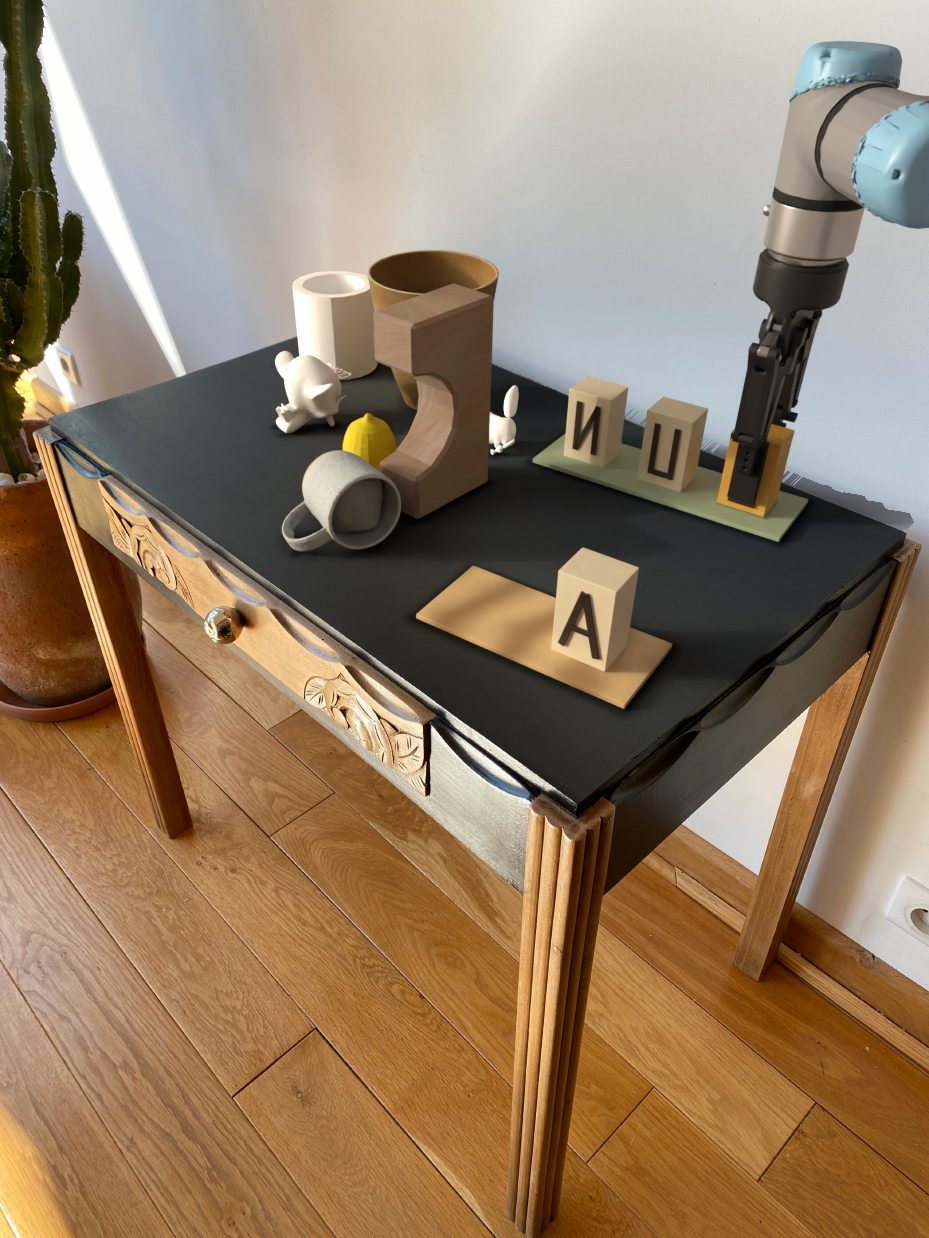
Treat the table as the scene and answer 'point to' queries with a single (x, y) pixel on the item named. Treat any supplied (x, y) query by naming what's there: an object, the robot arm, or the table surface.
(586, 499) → the table surface
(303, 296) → the mug
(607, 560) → the tile
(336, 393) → the figurine
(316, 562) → the table surface
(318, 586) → the table surface
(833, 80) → the robot arm
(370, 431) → the fruit
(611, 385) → the wooden letter block
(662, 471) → the U tile
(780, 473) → the orange block
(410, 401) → the plant pot
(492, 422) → the rabbit figurine
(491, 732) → the table surface
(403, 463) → the decorative block
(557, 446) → the board
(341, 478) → the ceramic mug
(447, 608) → the front word board
